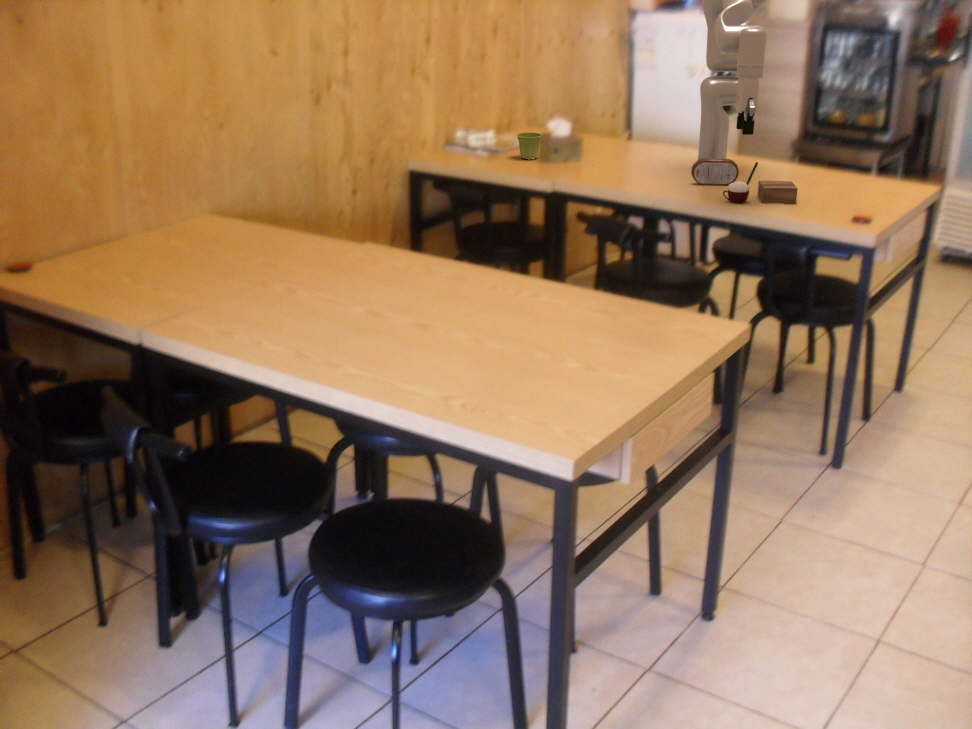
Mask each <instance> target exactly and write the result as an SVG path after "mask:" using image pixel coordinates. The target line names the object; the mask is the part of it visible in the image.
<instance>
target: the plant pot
mask: <svg viewBox="0 0 972 729" xmlns="http://www.w3.org/2000/svg"><path fill="white" fill-rule="evenodd" d="M540 135H542V136H543V134H542V133H540V132H533V131H532V132H531V131H530V132H520V133H517V134H516V137H517V140H518V145H519V147H518V148H519V155H520V159H521V158H525V159H524V160H526V159H532V158H537V157H539V149H540V144H541V140H540ZM537 159H538V158H537Z"/></svg>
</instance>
